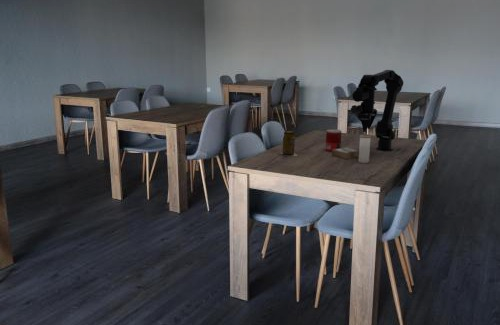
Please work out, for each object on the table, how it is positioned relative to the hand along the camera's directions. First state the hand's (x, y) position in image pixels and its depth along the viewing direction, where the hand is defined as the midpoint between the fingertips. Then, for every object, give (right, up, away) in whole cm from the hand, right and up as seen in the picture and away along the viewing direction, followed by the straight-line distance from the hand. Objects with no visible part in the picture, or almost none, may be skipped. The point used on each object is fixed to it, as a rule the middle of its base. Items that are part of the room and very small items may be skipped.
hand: (366, 130), depth 237 cm
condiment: (-40, -13, +2) cm, 42 cm away
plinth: (-11, -13, -1) cm, 17 cm away
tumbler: (-4, -16, -12) cm, 20 cm away
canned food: (-15, -10, +12) cm, 22 cm away
